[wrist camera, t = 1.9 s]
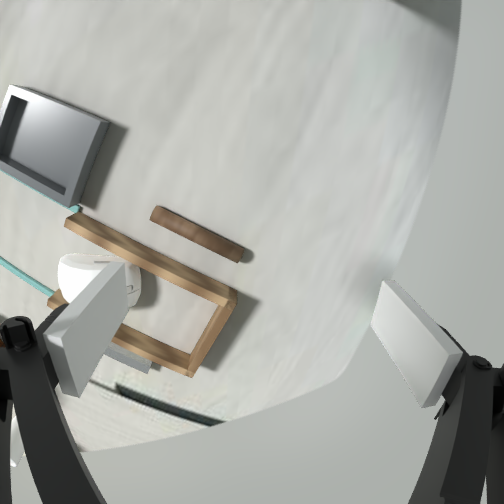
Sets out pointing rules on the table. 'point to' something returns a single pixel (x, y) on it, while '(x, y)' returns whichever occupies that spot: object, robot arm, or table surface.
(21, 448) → the drinking glass
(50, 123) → the grey tray
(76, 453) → the robot arm
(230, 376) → the table surface
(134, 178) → the table surface
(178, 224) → the walnut dowel
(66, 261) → the computer mouse
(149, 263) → the wooden u-shaped frame
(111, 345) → the grey l-shaped bar
